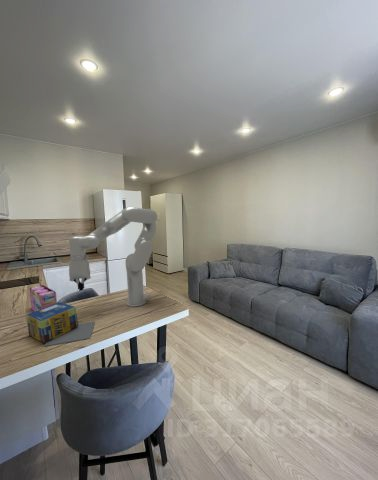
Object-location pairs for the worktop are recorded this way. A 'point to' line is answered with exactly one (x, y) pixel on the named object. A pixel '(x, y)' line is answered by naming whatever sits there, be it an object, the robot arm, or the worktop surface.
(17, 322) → the worktop surface
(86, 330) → the rubber mat
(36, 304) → the gum box
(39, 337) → the protein box
